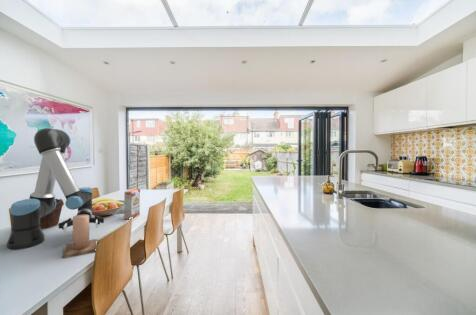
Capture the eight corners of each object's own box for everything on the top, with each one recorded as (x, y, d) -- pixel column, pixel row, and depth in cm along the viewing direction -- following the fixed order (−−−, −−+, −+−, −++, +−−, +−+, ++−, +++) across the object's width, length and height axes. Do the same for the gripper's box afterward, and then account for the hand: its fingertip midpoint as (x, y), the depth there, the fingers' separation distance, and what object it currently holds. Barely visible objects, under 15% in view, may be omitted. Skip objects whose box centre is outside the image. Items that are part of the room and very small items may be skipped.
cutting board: (62, 258, 108) (62, 255, 108) (66, 247, 119) (66, 244, 119) (97, 251, 115) (97, 248, 115) (97, 241, 127) (97, 239, 127)
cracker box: (131, 219, 166) (131, 191, 165) (123, 219, 166) (123, 191, 165) (140, 214, 180) (140, 188, 179) (133, 213, 180) (133, 188, 179)
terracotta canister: (72, 250, 112) (72, 219, 112) (73, 245, 118) (73, 215, 118) (89, 247, 116) (88, 217, 115) (89, 242, 122) (89, 213, 121)
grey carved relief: (139, 212, 185) (139, 203, 185) (104, 217, 174) (104, 208, 174) (139, 209, 199) (138, 201, 199) (106, 213, 188) (106, 205, 188)
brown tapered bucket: (71, 221, 159) (70, 196, 159) (44, 231, 140) (43, 203, 139) (48, 220, 161) (48, 195, 160) (19, 230, 141) (18, 202, 141)
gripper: (108, 219, 140) (108, 230, 122) (57, 226, 127) (49, 239, 109) (108, 207, 140) (108, 216, 122) (57, 213, 127) (49, 224, 109)
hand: (80, 227), depth 115 cm, fingers open, 13 cm apart
